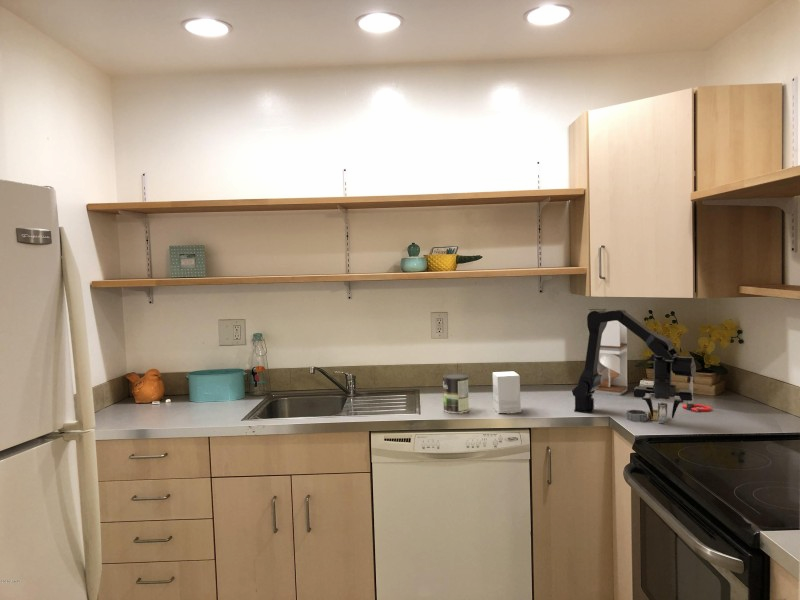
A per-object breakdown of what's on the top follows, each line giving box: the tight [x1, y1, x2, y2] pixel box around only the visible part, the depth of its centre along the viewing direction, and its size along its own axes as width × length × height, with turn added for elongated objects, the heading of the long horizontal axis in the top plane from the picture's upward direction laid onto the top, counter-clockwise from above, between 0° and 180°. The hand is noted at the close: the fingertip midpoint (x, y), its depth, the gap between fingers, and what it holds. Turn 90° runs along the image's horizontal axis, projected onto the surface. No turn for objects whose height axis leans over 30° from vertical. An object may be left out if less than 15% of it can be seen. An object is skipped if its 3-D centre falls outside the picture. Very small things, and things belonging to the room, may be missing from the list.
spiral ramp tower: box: [595, 310, 628, 396], centre depth 253 cm, size 11×11×35 cm
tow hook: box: [682, 377, 712, 413], centre depth 221 cm, size 8×13×9 cm
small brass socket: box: [647, 409, 658, 421], centre depth 210 cm, size 6×6×2 cm
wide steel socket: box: [625, 409, 648, 422], centre depth 211 cm, size 7×7×2 cm
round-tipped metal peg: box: [657, 401, 668, 424], centre depth 205 cm, size 3×3×7 cm
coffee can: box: [442, 372, 470, 414], centre depth 231 cm, size 10×10×14 cm
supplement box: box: [492, 370, 522, 414], centre depth 228 cm, size 9×9×15 cm
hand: (662, 417), depth 205 cm, fingers open, 6 cm apart
